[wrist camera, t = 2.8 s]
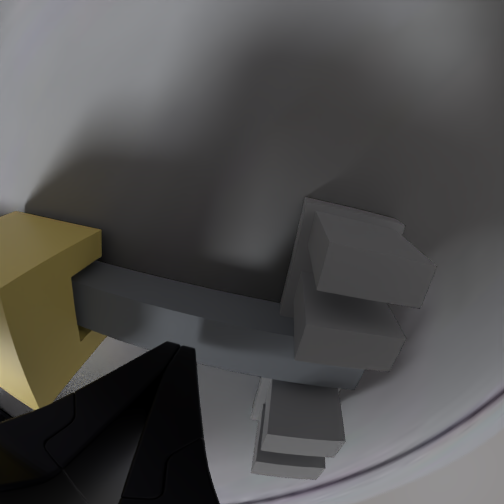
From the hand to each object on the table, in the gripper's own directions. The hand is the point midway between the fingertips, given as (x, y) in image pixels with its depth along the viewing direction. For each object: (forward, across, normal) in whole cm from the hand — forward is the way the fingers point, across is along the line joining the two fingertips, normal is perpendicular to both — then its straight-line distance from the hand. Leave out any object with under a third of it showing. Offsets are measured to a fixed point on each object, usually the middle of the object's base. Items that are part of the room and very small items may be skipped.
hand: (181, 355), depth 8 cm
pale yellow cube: (+3, +6, 0) cm, 7 cm away
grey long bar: (+3, +8, 0) cm, 9 cm away
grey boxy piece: (+3, -4, 0) cm, 5 cm away
